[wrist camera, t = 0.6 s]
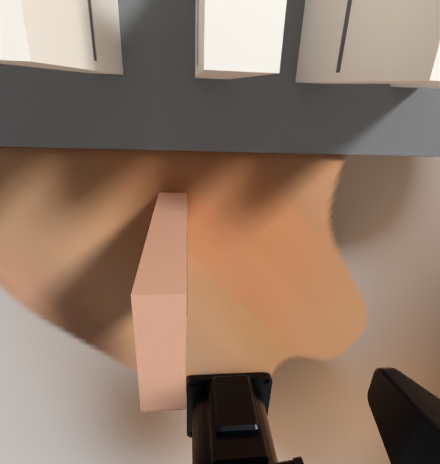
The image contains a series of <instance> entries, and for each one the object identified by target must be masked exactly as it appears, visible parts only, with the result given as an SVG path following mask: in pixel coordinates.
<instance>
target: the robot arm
mask: <svg viewBox="0 0 440 464" xmlns="http://www.w3.org/2000/svg"><path fill="white" fill-rule="evenodd" d="M271 387H272V378H271V375H270V374H269V373H249V374H226V375H202V376H191V377H189V378H188V379H187V436H189V437H192V449H193V450H192V453H193V455H192V457H193V464H304V463H303V460H302V458H301V457H295V458H293V460H289V461H283V462H278V461H277V456H276V452H275V448H274V444H273V439H272V435H271V431H270V427H269V423H268V419H267V414H268V407H269V401H270V394H271ZM368 402H369V406H370V408H371V411H372V413H373V416H374V419H375V422H376V424H377V427H378V430H379V433H380V435H381V438H382V440H383V443H384V446H385V449H386V451H387V454H388V457H389V459H390V462H391V464H440V399H439V398H438V397H436V396H435V395H433V394H432V393H430V392H429V391H427V390H426V389H425V388H423V387H422V386H420V385H419V384H417V383H416V382H414V381H413V380H412V379H410V378H408V377H407V376H406V375H404V374H403V373H401V372H400V371H398V370H397V369H394V368H377V369H376V370H375V371H374V374H373V377H372V380H371V384H370V387H369V390H368Z"/></svg>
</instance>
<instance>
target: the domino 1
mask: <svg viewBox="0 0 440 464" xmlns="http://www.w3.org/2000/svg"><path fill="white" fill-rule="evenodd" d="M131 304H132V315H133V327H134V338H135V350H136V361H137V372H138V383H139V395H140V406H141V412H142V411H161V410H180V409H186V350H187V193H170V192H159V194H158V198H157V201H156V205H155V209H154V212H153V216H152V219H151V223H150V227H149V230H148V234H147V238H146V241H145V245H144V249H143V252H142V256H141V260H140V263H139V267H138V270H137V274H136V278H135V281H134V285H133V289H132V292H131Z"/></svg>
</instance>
